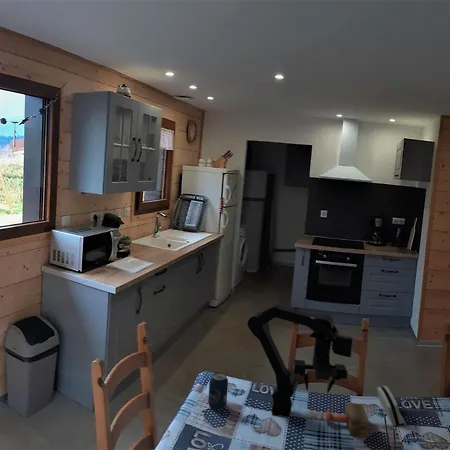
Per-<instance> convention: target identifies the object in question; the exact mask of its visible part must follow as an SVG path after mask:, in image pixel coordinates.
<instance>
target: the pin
mask: <svg viewBox="0 0 450 450" xmlns="http://www.w3.org/2000/svg"><path fill="white" fill-rule="evenodd" d="M325 413H326V414H325V423H326V424H329V425H330V424H331V422H337V423H345V424H347V423H349V416H345V414H343V415H342V414H336V413H331V410H326V412H325Z"/></svg>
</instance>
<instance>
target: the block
mask: <svg viewBox="0 0 450 450" xmlns="http://www.w3.org/2000/svg"><path fill="white" fill-rule="evenodd" d="M344 407H345V409H344V415H345V416H349V423H346V426H347V430H348V433H349V436H350V437H361V438H367V439H368V438H369V432H370V431H369V430H370V420H369V417H368V416H367V413H366V410H365V407H364V405H363V404H362V403H357V402H356V403H354V402H347V401H346V402H345V406H344Z"/></svg>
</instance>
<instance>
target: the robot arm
mask: <svg viewBox="0 0 450 450" xmlns="http://www.w3.org/2000/svg"><path fill="white" fill-rule="evenodd" d="M273 319H279V320H283V321H287V322H291V323H294V324H298V325H301V326H305V327H307V328H308V329H310V330H311V332H310V334H309V337H310V338H313V339H314V345H313V354H312V363H311V364H308V363H307V364H306V361H305V360H301V359H294V360H293V362H292V367H293V368H292V370H291V371H290V370H289V369H288V368H287V366H286V365H285V363H284V360H283V359H282V357H281V354H280V352H279V350H278V348H277V346H276V343H275V341H274V339H273V338H272V334H271V330H270V324H269V323H270V322H271V321H272V320H273ZM246 326H247V327H248V329H249V330H250V332H251V333H252V335H253V336H254V337H255V338H257V339H258V341H259V342H260V345H261V346H262V349H263V351H264V353H265V355H266V357H267V360H268V362H269V364H270V366H271V368H272V370H273V372H274V375H275V382H276V387H275V389H274V390H273V392H272V393H271V398H272V405H271V414H272V416H277V417H286V418H290V417H291V415H290V414H291V413H292V405H293V403H292V402H293V401H292V399H291V398H292V397H293V395H295V392H296V391H297V389H298V385H299V382H298V381H299V379H298V377H297V375H296V374H298V375H299V376H301V377H302V378H303V381H304V385H305V389H306V391H308V390H309V373H308V371H311V372H312V371H313V372H314V377H315V379H316V380H324V381H327V387H326V393H328V394H329V393H330V391H331V390H332V387H333V386H334V384H335V383H336V381H340V380H341V379H342V380H343V379H345V380H346V379H348V375H349V374H348V370H347V367H346V365H345V364H340V363H334V364H333V365H332V364H331V362H330V355H331V350H332V353H334V355H337V356H342V357H346V358H352V355H353V350H354V337H351V336H344V335H340V334H339V330H338V328H337V327H336V325H335V320H334V318H333V317H332V316H331V315H330V314H326V313H309V312H304V311H301V310H297V309H294V308H293V309H292V308H289V307H286V306H282V305H279V304H277V303H274V304H273V305H271V307H269V308H267V309H265V310H264V311H262V312H261V311H257V312H255V313H254V314H253V315H252V316H251V317H250V318H249V319H248V321H247V325H246Z"/></svg>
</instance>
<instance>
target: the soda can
mask: <svg viewBox="0 0 450 450" xmlns="http://www.w3.org/2000/svg"><path fill="white" fill-rule="evenodd" d="M228 385H229V380H228V376H227V374H225V373H222V372H214V373H212V374H211V377H210V378H209V385H208V396H207V397H208V398H207V399H208V400H207V402H208V406H209V407H210V408H211V407H212V408H214V409H221V410H223V409H225V407H226V406H227V399H228V398H227V397H228V387H229V386H228ZM212 408H211V409H212ZM222 408H223V409H222ZM214 409H213V410H214Z"/></svg>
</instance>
